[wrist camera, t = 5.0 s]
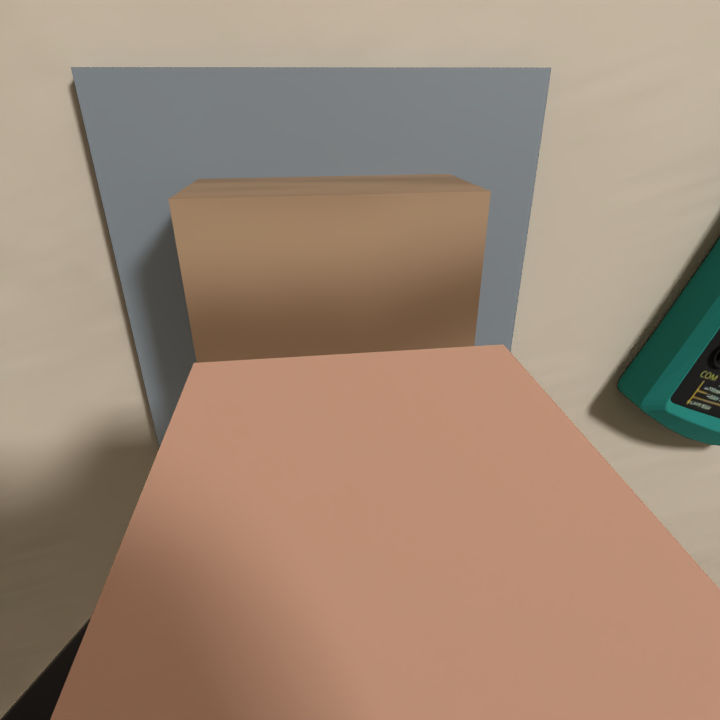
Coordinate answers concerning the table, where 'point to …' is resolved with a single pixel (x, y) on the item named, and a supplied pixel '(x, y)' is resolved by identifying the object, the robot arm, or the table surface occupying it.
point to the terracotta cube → (391, 558)
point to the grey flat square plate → (298, 167)
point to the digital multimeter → (683, 361)
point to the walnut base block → (330, 264)
